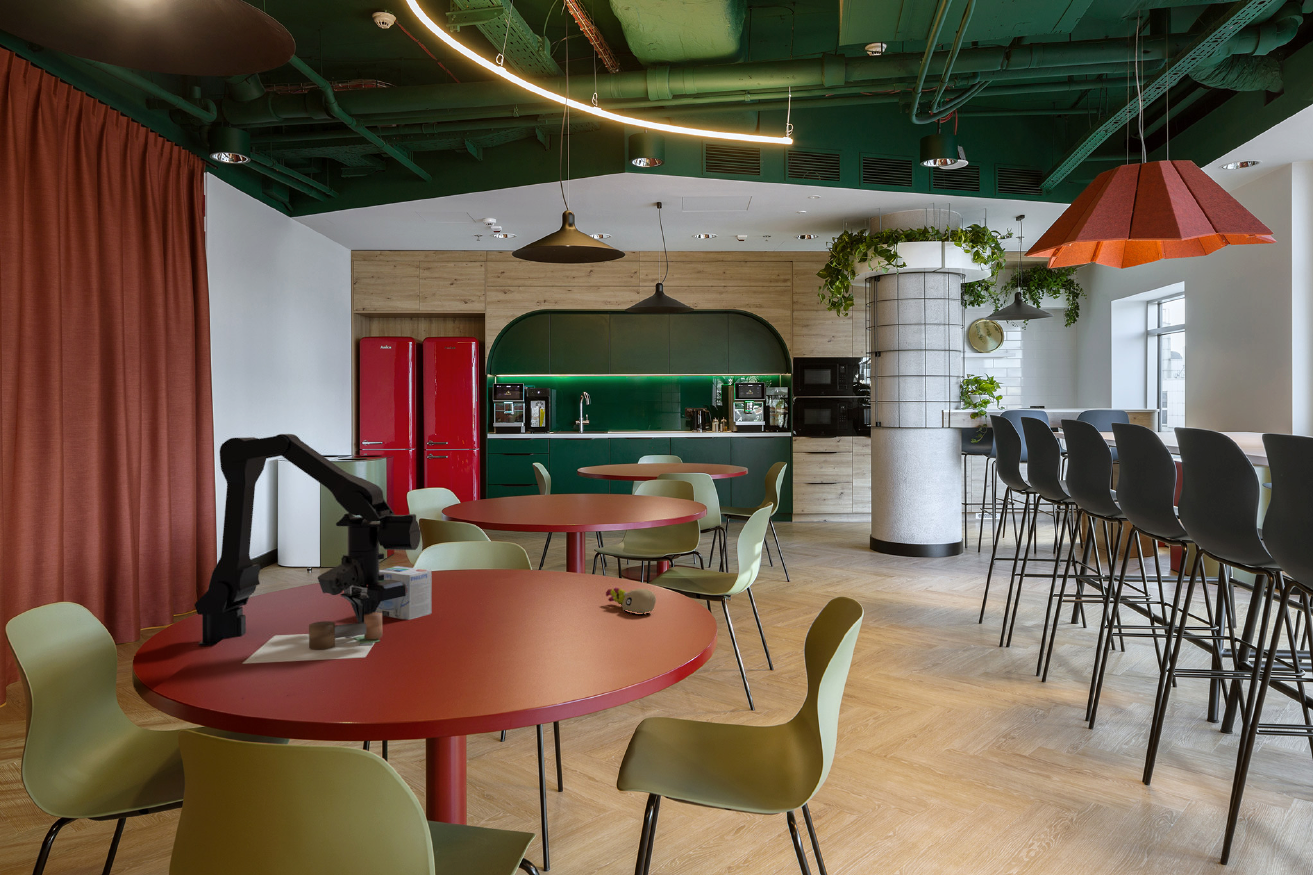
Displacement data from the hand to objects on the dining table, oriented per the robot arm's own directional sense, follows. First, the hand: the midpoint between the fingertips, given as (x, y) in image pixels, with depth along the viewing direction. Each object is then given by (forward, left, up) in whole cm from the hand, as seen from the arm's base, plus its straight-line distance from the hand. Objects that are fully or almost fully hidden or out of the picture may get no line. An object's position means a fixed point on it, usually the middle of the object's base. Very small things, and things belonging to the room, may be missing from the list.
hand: (363, 629), depth 148 cm
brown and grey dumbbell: (-2, -5, -1) cm, 5 cm away
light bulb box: (+5, +18, -3) cm, 19 cm away
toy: (+54, +18, -3) cm, 57 cm away
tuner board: (-7, -5, -3) cm, 9 cm away
